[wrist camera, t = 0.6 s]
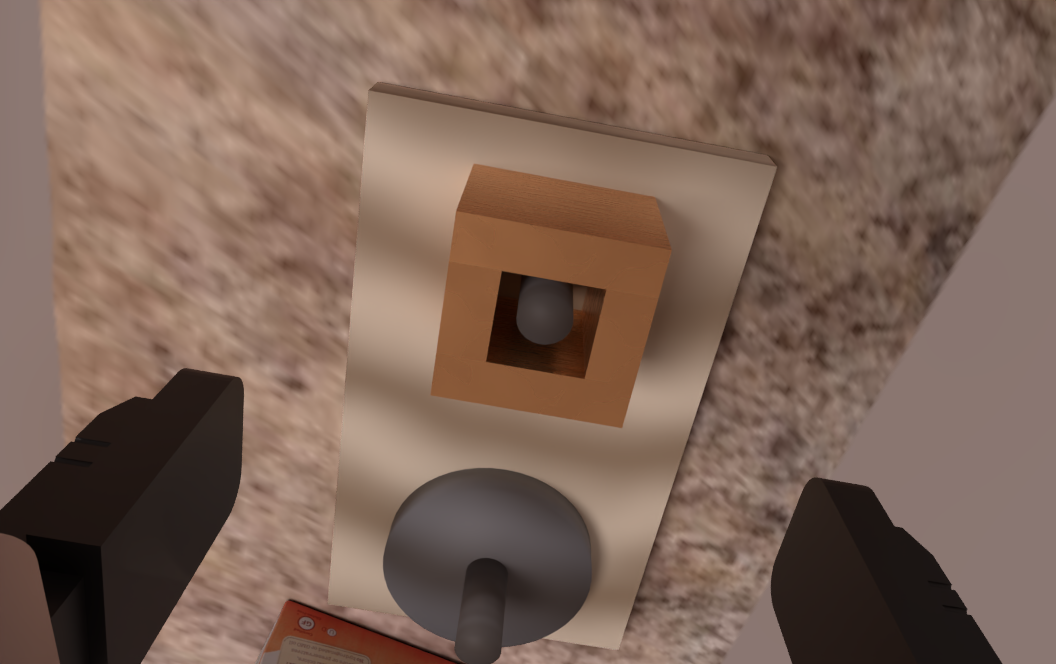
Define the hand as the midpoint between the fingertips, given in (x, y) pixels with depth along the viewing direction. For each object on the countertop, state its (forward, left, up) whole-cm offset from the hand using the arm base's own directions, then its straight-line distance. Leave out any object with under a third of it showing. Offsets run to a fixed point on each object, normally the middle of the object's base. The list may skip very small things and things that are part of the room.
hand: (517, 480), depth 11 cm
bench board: (+11, +1, -19) cm, 22 cm away
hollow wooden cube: (+4, +1, -18) cm, 18 cm away
